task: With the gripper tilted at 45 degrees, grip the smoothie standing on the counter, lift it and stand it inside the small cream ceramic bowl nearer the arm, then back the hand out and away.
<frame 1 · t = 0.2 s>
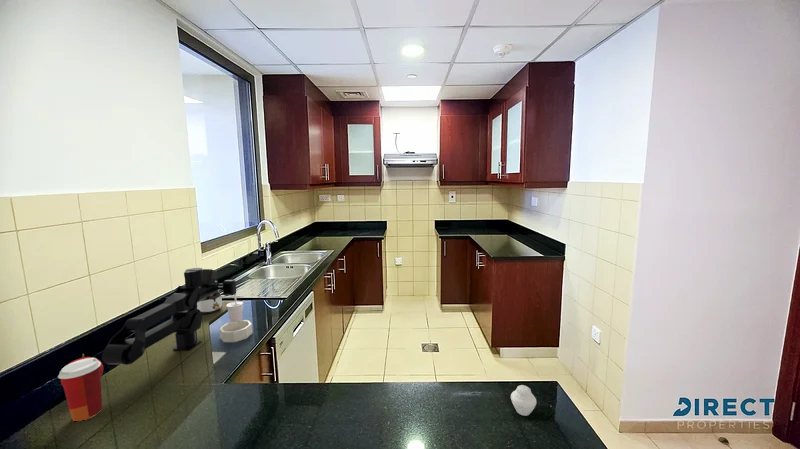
hand: (225, 282, 140), 17 cm above the worktop, tool horizontal, fingers open, 9 cm apart
white rounded blob: (522, 412, 81), on the worktop
fruit: (84, 387, 94), on the worktop
paper cup: (87, 415, 83), on the worktop
bowl: (236, 335, 125), on the worktop
spread jar: (210, 309, 152), on the worktop
smoothie: (236, 326, 134), on the worktop
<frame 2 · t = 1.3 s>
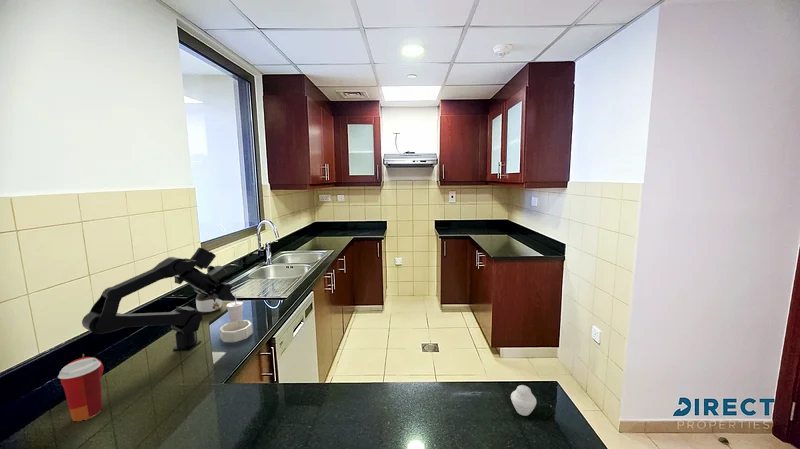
hand: (228, 297, 130), 13 cm above the worktop, tool tilted 45°, fingers open, 9 cm apart
nothing on the worktop moved.
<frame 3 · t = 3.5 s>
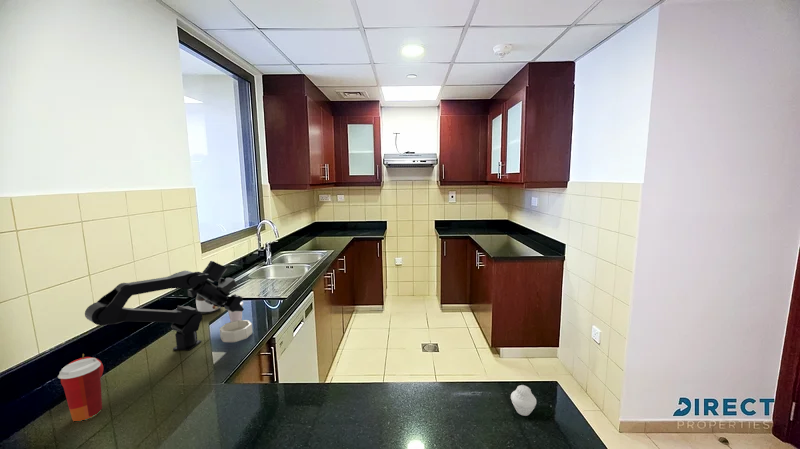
hand: (238, 308, 134), 7 cm above the worktop, tool tilted 45°, fingers closed on smoothie, 6 cm apart
smoothie: (236, 326, 134), on the worktop, touching gripper
everything else where it was.
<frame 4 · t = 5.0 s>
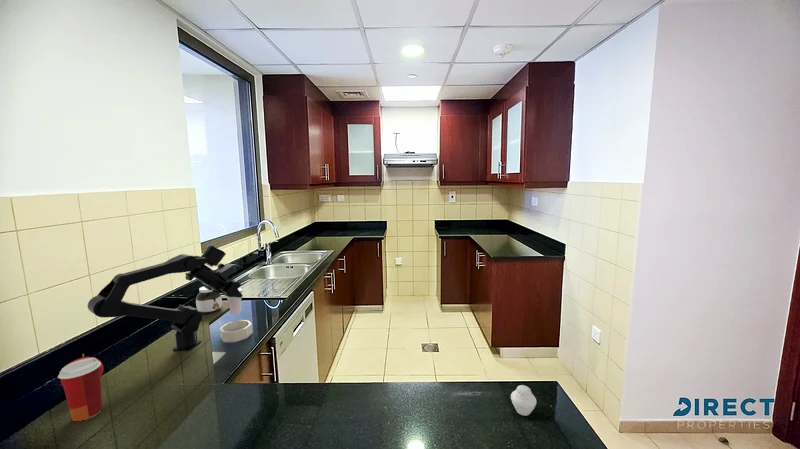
hand: (237, 295, 132), 13 cm above the worktop, tool tilted 45°, fingers closed on smoothie, 6 cm apart
smoothie: (235, 312, 132), point 6 cm above the worktop, touching gripper
everything else where it was.
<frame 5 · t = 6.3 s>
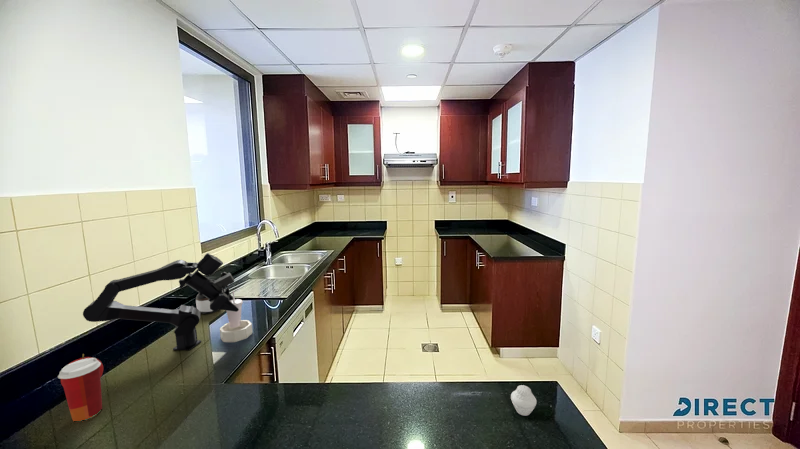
hand: (237, 307, 124), 11 cm above the worktop, tool tilted 45°, fingers closed on smoothie, 6 cm apart
smoothie: (235, 325, 124), point 4 cm above the worktop, touching gripper
everything else where it was.
when the fingers open (9 cm above the worktop, at t = 7.7 s): smoothie stays where it is, resting on bowl.
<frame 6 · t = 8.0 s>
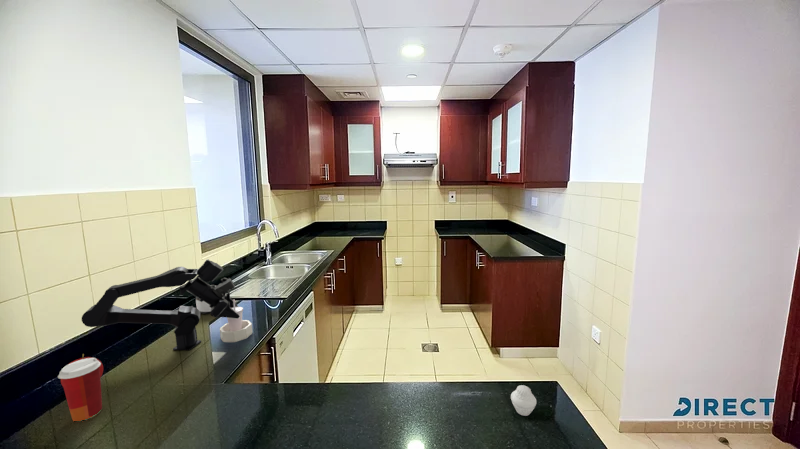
hand: (238, 313, 124), 9 cm above the worktop, tool tilted 45°, fingers open, 9 cm apart
smoothie: (236, 333, 125), point 1 cm above the worktop, touching bowl
everything else where it was.
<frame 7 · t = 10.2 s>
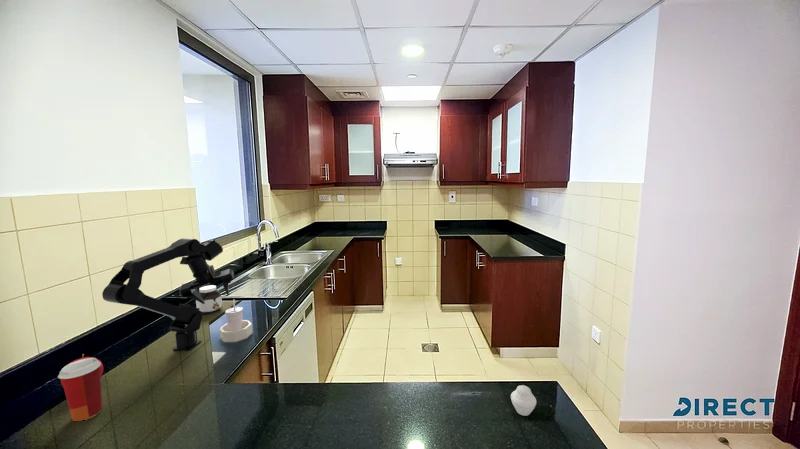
hand: (216, 298, 128), 13 cm above the worktop, tool tilted 20°, fingers open, 9 cm apart
nothing on the worktop moved.
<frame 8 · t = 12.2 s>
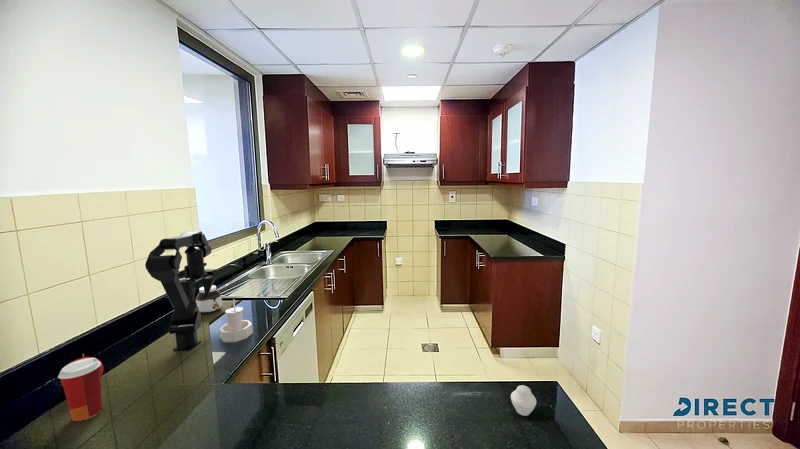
hand: (199, 298, 130), 13 cm above the worktop, tool pointing down, fingers open, 9 cm apart
nothing on the worktop moved.
at the end: smoothie 0.1 cm off-centre on the bowl, point 0.8 cm above the bowl's base; smoothie tilted 0°; the gripper is holding nothing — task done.
